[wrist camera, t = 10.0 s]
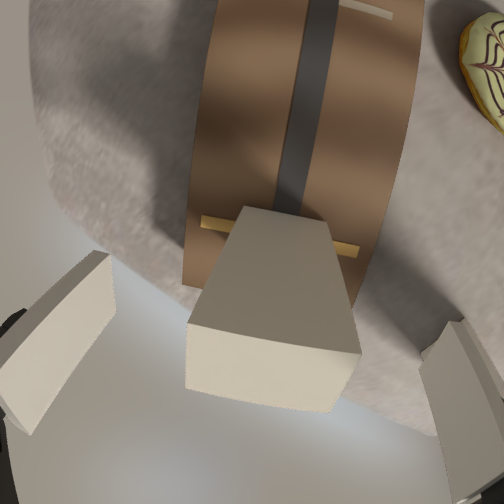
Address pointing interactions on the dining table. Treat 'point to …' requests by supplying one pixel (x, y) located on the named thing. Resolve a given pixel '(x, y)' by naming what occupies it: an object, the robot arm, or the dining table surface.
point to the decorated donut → (485, 65)
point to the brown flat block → (302, 121)
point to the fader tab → (274, 317)
